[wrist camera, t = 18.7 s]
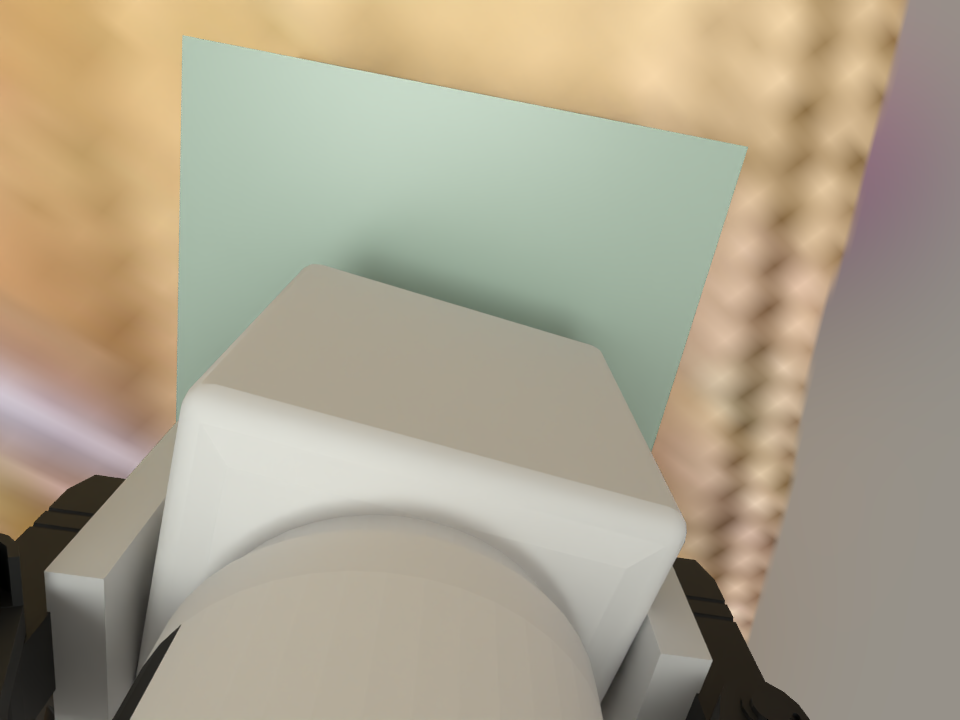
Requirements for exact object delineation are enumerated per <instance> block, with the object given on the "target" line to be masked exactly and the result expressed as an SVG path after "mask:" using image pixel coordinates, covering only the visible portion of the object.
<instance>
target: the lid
mask: <svg viewBox="0 0 960 720" xmlns="http://www.w3.org/2000/svg"><path fill="white" fill-rule="evenodd" d="M747 149H748V147H746V146H741V145H735V144H730V143H725V142H720V141H715V140H710V139H705V138H700V137H695V136H690V135H685V134H680V133H675V132H670V131H665V130H660V129H654V128H649V127H644V126H639V125H634V124H629V123H624V122H619V121H614V120H609V119H604V118H599V117H594V116H589V115H584V114H579V113H573V112H568V111H563V110H558V109H553V108H548V107H543V106H538V105H533V104H528V103H523V102H518V101H513V100H508V99H503V98H498V97H492V96H487V95H482V94H477V93H472V92H467V91H462V90H457V89H452V88H447V87H442V86H437V85H432V84H427V83H422V82H416V81H411V80H406V79H401V78H396V77H391V76H386V75H381V74H376V73H371V72H366V71H361V70H356V69H351V68H346V67H341V66H335V65H330V64H325V63H320V62H315V61H310V60H305V59H300V58H295V57H290V56H285V55H280V54H275V53H270V52H265V51H260V50H254V49H249V48H244V47H239V46H234V45H229V44H224V43H219V42H214V41H209V40H204V39H199V38H194V37H189V36H184V35H183V40H182V101H181V161H180V221H179V282H178V342H177V402H176V422H177V421H178V420H179V415H180V409H181V405H182V401H183V399H184V398H185V396H186V394H187V392H188V390H189V389H190V388H191V387H192V386H193V385H194V384H195V382H196V381H197V380H198V379H199V378H200V377H201V376H202V375H203V374H204V373H205V372H206V371H207V370H208V369H209V368H210V367H211V366H212V365H213V363H214V362H215V361H216V360H217V359H218V358H219V357H220V356H221V355H222V354H223V353H224V352H225V351H226V350H227V349H228V348H229V347H230V345H231V344H232V343H233V342H234V341H235V340H236V339H237V338H238V337H239V336H240V335H241V334H242V333H243V332H244V331H245V330H246V329H247V328H248V326H249V325H250V324H251V323H252V322H253V321H254V320H255V319H256V318H257V317H258V316H259V315H260V314H261V313H262V312H263V311H264V310H265V308H266V307H267V306H268V305H269V304H270V303H271V302H272V301H273V300H274V299H275V298H276V297H277V296H278V295H279V294H280V293H281V292H282V290H283V289H284V288H285V287H286V286H287V285H288V284H289V283H290V282H291V281H292V280H293V279H294V278H295V277H296V276H297V275H298V274H299V273H300V271H301V270H302V269H303V268H305V267H307V266H309V265H310V264H321V265H325V266H328V267H331V268H335V269H338V270H341V271H345V272H348V273H351V274H355V275H358V276H361V277H365V278H368V279H371V280H375V281H378V282H381V283H385V284H388V285H392V286H395V287H398V288H402V289H405V290H408V291H412V292H415V293H418V294H422V295H425V296H428V297H432V298H435V299H438V300H442V301H445V302H448V303H452V304H455V305H458V306H462V307H465V308H469V309H472V310H475V311H479V312H482V313H485V314H489V315H492V316H495V317H499V318H502V319H505V320H509V321H512V322H515V323H519V324H522V325H525V326H529V327H532V328H535V329H539V330H542V331H546V332H549V333H552V334H556V335H559V336H562V337H566V338H569V339H572V340H576V341H579V342H582V343H586V344H589V345H592V346H594V347H596V348H597V349H599V350H600V351H601V353H602V355H603V357H604V359H605V361H606V363H607V365H608V367H609V369H610V371H611V373H612V375H613V377H614V379H615V381H616V383H617V385H618V387H619V389H620V391H621V393H622V395H623V397H624V399H625V401H626V403H627V405H628V407H629V409H630V411H631V413H632V415H633V417H634V419H635V421H636V423H637V425H638V427H639V429H640V431H641V433H642V435H643V437H644V439H645V441H646V443H647V445H648V447H649V449H650V451H652V448H653V445H654V442H655V439H656V435H657V432H658V429H659V426H660V423H661V420H662V417H663V413H664V410H665V407H666V404H667V401H668V398H669V394H670V391H671V388H672V385H673V382H674V379H675V376H676V372H677V369H678V366H679V363H680V360H681V357H682V353H683V350H684V347H685V344H686V341H687V338H688V335H689V331H690V328H691V325H692V322H693V319H694V316H695V313H696V309H697V306H698V303H699V300H700V297H701V294H702V290H703V287H704V284H705V281H706V278H707V275H708V272H709V268H710V265H711V262H712V259H713V256H714V253H715V249H716V246H717V243H718V240H719V237H720V234H721V231H722V227H723V224H724V221H725V218H726V215H727V212H728V208H729V205H730V202H731V199H732V196H733V193H734V190H735V186H736V183H737V180H738V177H739V174H740V171H741V168H742V164H743V161H744V158H745V155H746V152H747Z"/></svg>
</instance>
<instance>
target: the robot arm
mask: <svg viewBox="0 0 960 720" xmlns="http://www.w3.org/2000/svg"><path fill="white" fill-rule="evenodd" d="M178 421H179V420H178ZM178 421H177V422H176V423H175V424H174V426H173V427H172V428H171V429H170V430H169V431H168V432H167V433H166V435H165V436H164V437H163V438H162V439H161V440H160V441H159V442H158V444H157V445H156V446H155V447H154V448H153V449H152V450H151V451H150V453H149V454H148V455H147V456H146V457H145V458H144V459H143V460H142V462H141V463H140V464H139V465H138V466H137V467H136V468H135V469H134V471H133V472H132V473H131V474H130V475H129V476H128V477H127V478H126V479H121V478H114V477H107V476H100V475H94V476H92V477H90V478H89V479H87V480H85V481H83V482H81V483H79V484H77V485H75V486H73V487H71V488H69V489H67V490H66V491H65V492H64V493H63V494H62V495H61V496H60V497H59V498H58V499H57V500H56V501H55V502H54V503H53V504H52V505H51V506H50V507H49V511H45V512H44V513H43V514H42V515H41V516H40V517H39V518H38V519H37V520H36V521H35V522H34V525H33V527H29V528H28V529H27V530H26V531H25V532H24V533H23V534H22V535H21V536H20V537H19V538H18V539H17V540H16V541H14V540H13V539H12V538H11V537H10V536H8V535H5V534H1V533H0V720H112V719H113V718H114V716H115V714H116V712H117V711H118V709H119V707H120V705H121V704H122V702H123V700H124V698H125V697H126V695H127V693H128V691H129V690H130V688H131V686H132V684H133V683H134V681H135V679H136V673H137V667H138V661H139V655H140V649H141V643H142V637H143V631H144V625H145V619H146V613H147V607H148V601H149V595H150V589H151V583H152V577H153V571H154V565H155V559H156V553H157V547H158V541H159V535H160V529H161V523H162V517H163V511H164V505H165V499H166V493H167V487H168V481H169V475H170V469H171V463H172V457H173V451H174V445H175V439H176V433H177V427H178ZM600 706H601V711H602V716H603V720H810V719H809V718H808V717H807V715H806V714H805V713H804V711H803V710H802V709H801V707H800V706H799V705H798V704H797V703H796V702H795V701H794V700H793V699H791V698H790V697H789V696H788V695H787V694H785V693H784V692H783V691H781V690H779V689H778V688H776V687H774V686H772V685H770V684H768V683H767V682H765V680H764V678H763V676H762V674H761V672H760V670H759V669H758V666H757V665H756V662H755V661H754V658H753V656H752V654H751V652H750V651H749V648H748V646H747V644H746V642H745V640H744V638H743V636H742V634H741V632H740V630H739V628H738V626H737V624H736V622H733V616H732V614H731V612H730V610H729V608H728V606H727V605H725V600H724V598H723V596H722V594H721V592H720V590H719V588H718V586H717V584H716V582H715V580H714V579H713V578H712V577H711V576H710V575H709V574H708V573H707V572H706V571H705V570H704V569H703V568H702V566H701V565H700V564H699V563H698V562H697V561H696V560H691V559H684V558H676V560H675V561H674V563H673V565H672V567H671V569H670V571H669V573H668V575H667V577H666V579H665V581H664V583H663V585H662V586H661V588H660V590H659V592H658V594H657V596H656V598H655V600H654V602H653V604H652V606H651V608H650V610H649V611H648V613H647V615H646V617H645V619H644V621H643V623H642V625H641V627H640V629H639V631H638V633H637V635H636V636H635V638H634V640H633V642H632V644H631V646H630V648H629V650H628V652H627V654H626V656H625V658H624V660H623V661H622V663H621V665H620V667H619V669H618V671H617V673H616V675H615V677H614V679H613V681H612V683H611V685H610V686H609V688H608V690H607V692H606V694H605V696H604V698H603V700H602V702H601V704H600Z"/></svg>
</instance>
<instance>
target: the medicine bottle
mask: <svg viewBox="0 0 960 720" xmlns="http://www.w3.org/2000/svg"><path fill="white" fill-rule="evenodd" d="M686 532H687V531H686V522H685V520H684V518H683V516H682V514H681V512H680V510H679V508H678V506H677V504H676V502H675V500H674V498H673V496H672V494H671V492H670V490H669V488H668V486H667V484H666V482H665V480H664V478H663V476H662V474H661V472H660V470H659V467H658V465H657V463H656V461H655V459H654V457H653V455H652V453H651V451H650V449H649V447H648V445H647V443H646V441H645V439H644V437H643V435H642V433H641V431H640V429H639V427H638V425H637V423H636V421H635V419H634V417H633V415H632V413H631V411H630V409H629V407H628V405H627V403H626V401H625V399H624V397H623V395H622V393H621V391H620V389H619V387H618V385H617V383H616V381H615V379H614V377H613V375H612V373H611V371H610V369H609V367H608V365H607V363H606V361H605V359H604V357H603V355H602V353H601V351H600V350H599V349H597V348H596V347H594V346H592V345H589V344H586V343H582V342H579V341H576V340H572V339H569V338H566V337H562V336H559V335H556V334H552V333H549V332H546V331H542V330H539V329H535V328H532V327H529V326H525V325H522V324H519V323H515V322H512V321H509V320H505V319H502V318H499V317H495V316H492V315H489V314H485V313H482V312H479V311H475V310H472V309H469V308H465V307H462V306H458V305H455V304H452V303H448V302H445V301H442V300H438V299H435V298H432V297H428V296H425V295H422V294H418V293H415V292H412V291H408V290H405V289H402V288H398V287H395V286H392V285H388V284H385V283H381V282H378V281H375V280H371V279H368V278H365V277H361V276H358V275H355V274H351V273H348V272H345V271H341V270H338V269H335V268H331V267H328V266H325V265H321V264H310V265H309V266H307V267H305V268H303V269H302V270H301V271H300V273H299V274H298V275H297V276H296V277H295V278H294V279H293V280H292V281H291V282H290V283H289V284H288V285H287V286H286V287H285V288H284V289H283V290H282V292H281V293H280V294H279V295H278V296H277V297H276V298H275V299H274V300H273V301H272V302H271V303H270V304H269V305H268V306H267V307H266V308H265V310H264V311H263V312H262V313H261V314H260V315H259V316H258V317H257V318H256V319H255V320H254V321H253V322H252V323H251V324H250V325H249V326H248V328H247V329H246V330H245V331H244V332H243V333H242V334H241V335H240V336H239V337H238V338H237V339H236V340H235V341H234V342H233V343H232V344H231V345H230V347H229V348H228V349H227V350H226V351H225V352H224V353H223V354H222V355H221V356H220V357H219V358H218V359H217V360H216V361H215V362H214V363H213V365H212V366H211V367H210V368H209V369H208V370H207V371H206V372H205V373H204V374H203V375H202V376H201V377H200V378H199V379H198V380H197V381H196V382H195V384H194V385H193V386H192V387H191V388H190V389H189V390H188V392H187V394H186V396H185V398H184V399H183V401H182V405H181V409H180V415H179V421H178V427H177V433H176V439H175V445H174V451H173V457H172V463H171V469H170V475H169V481H168V487H167V493H166V499H165V505H164V511H163V517H162V523H161V529H160V535H159V541H158V547H157V553H156V559H155V565H154V571H153V577H152V583H151V589H150V595H149V601H148V607H147V613H146V619H145V625H144V631H143V637H142V643H141V649H140V655H139V661H138V667H137V673H136V679H135V681H134V683H133V684H132V686H131V688H130V690H129V691H128V693H127V695H126V697H125V698H124V700H123V702H122V704H121V705H120V707H119V709H118V711H117V712H116V714H115V716H114V718H113V719H112V720H603V716H602V711H601V706H600V704H601V702H602V700H603V698H604V696H605V694H606V692H607V690H608V688H609V686H610V685H611V683H612V681H613V679H614V677H615V675H616V673H617V671H618V669H619V667H620V665H621V663H622V661H623V660H624V658H625V656H626V654H627V652H628V650H629V648H630V646H631V644H632V642H633V640H634V638H635V636H636V635H637V633H638V631H639V629H640V627H641V625H642V623H643V621H644V619H645V617H646V615H647V613H648V611H649V610H650V608H651V606H652V604H653V602H654V600H655V598H656V596H657V594H658V592H659V590H660V588H661V586H662V585H663V583H664V581H665V579H666V577H667V575H668V573H669V571H670V569H671V567H672V565H673V563H674V561H675V560H676V558H677V556H678V554H679V552H680V550H681V548H682V546H683V544H684V542H685V538H686Z"/></svg>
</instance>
